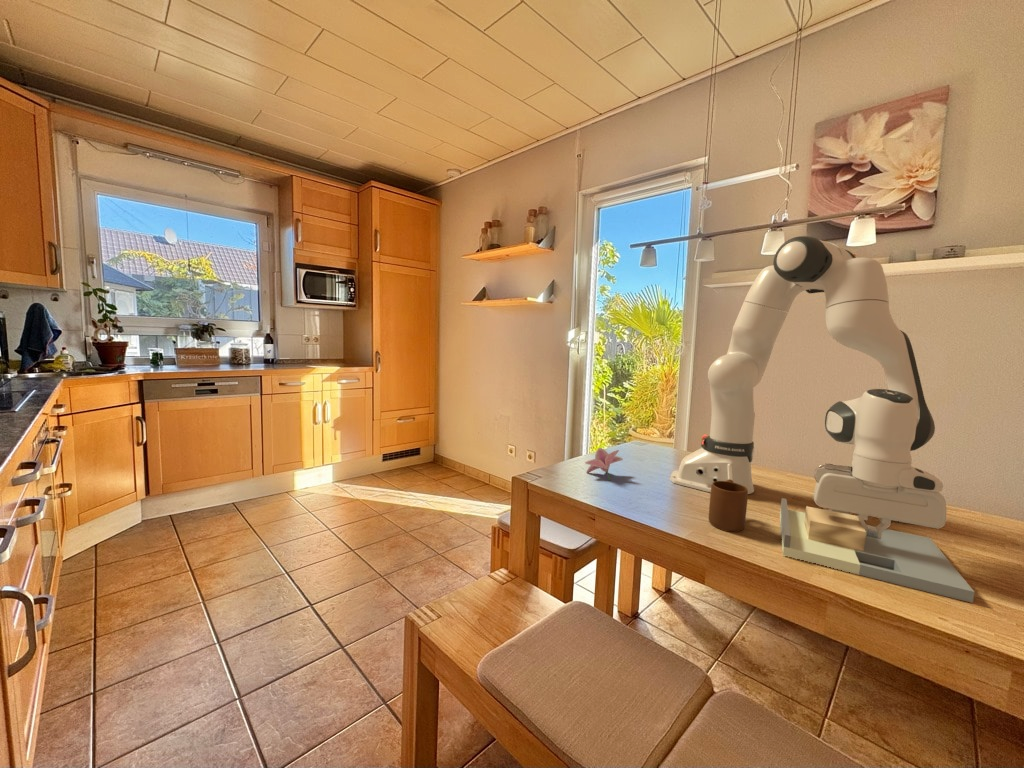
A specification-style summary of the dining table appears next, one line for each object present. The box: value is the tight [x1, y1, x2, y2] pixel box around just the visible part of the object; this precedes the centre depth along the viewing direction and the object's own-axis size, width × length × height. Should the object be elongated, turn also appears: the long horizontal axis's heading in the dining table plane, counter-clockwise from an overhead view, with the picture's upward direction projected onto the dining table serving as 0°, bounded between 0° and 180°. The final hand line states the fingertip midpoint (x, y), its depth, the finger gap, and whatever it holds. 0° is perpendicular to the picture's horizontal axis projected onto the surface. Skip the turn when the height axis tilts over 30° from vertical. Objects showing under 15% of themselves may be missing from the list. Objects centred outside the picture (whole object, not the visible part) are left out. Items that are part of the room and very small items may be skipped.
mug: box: [708, 479, 749, 532], centre depth 99 cm, size 12×8×9 cm, turn 152°
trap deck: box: [779, 498, 975, 603], centre depth 87 cm, size 27×23×4 cm
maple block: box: [804, 505, 866, 551], centre depth 89 cm, size 9×9×4 cm
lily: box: [584, 447, 624, 482], centre depth 129 cm, size 12×12×10 cm
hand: (870, 536), depth 86 cm, fingers closed
